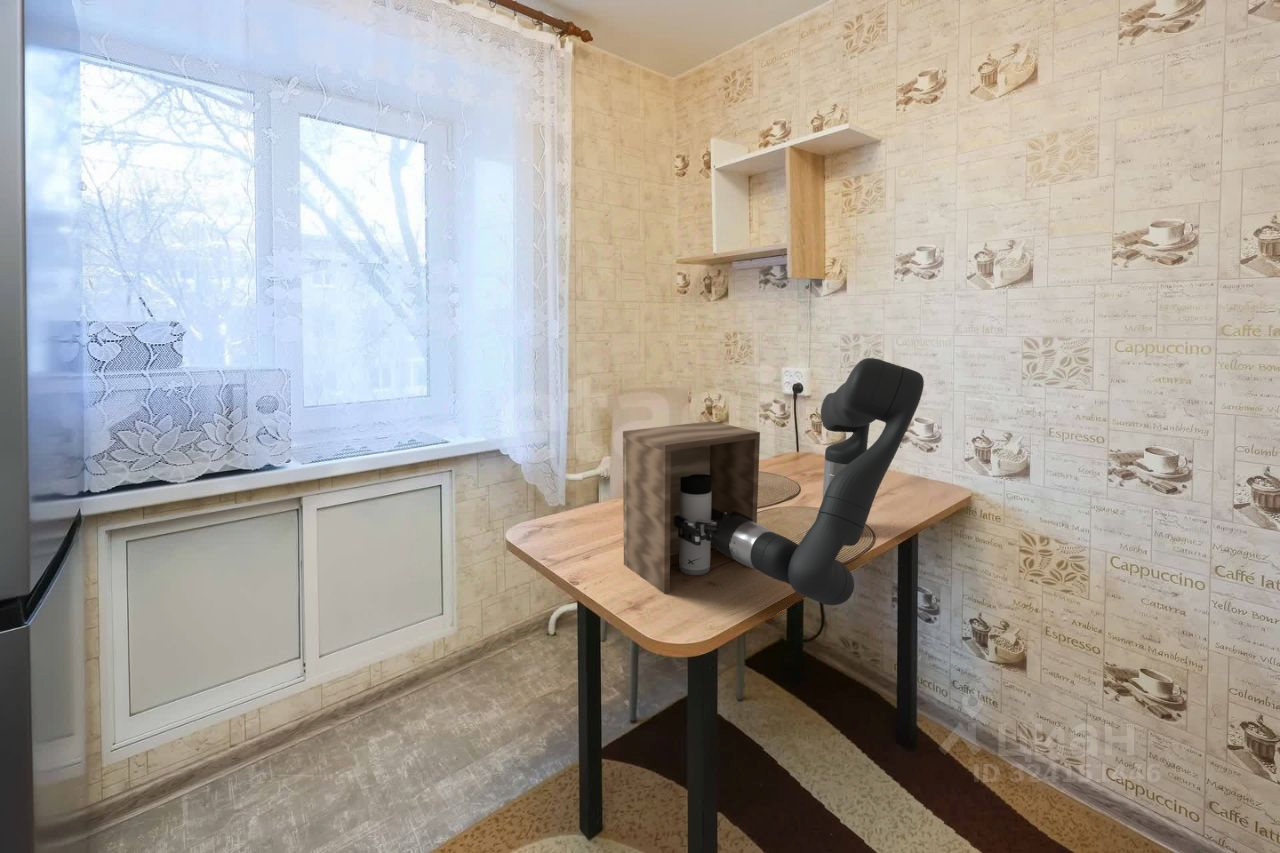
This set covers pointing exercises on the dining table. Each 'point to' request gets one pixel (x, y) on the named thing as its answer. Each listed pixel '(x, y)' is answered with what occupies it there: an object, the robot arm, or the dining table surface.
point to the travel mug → (693, 508)
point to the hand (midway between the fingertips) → (693, 516)
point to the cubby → (656, 486)
